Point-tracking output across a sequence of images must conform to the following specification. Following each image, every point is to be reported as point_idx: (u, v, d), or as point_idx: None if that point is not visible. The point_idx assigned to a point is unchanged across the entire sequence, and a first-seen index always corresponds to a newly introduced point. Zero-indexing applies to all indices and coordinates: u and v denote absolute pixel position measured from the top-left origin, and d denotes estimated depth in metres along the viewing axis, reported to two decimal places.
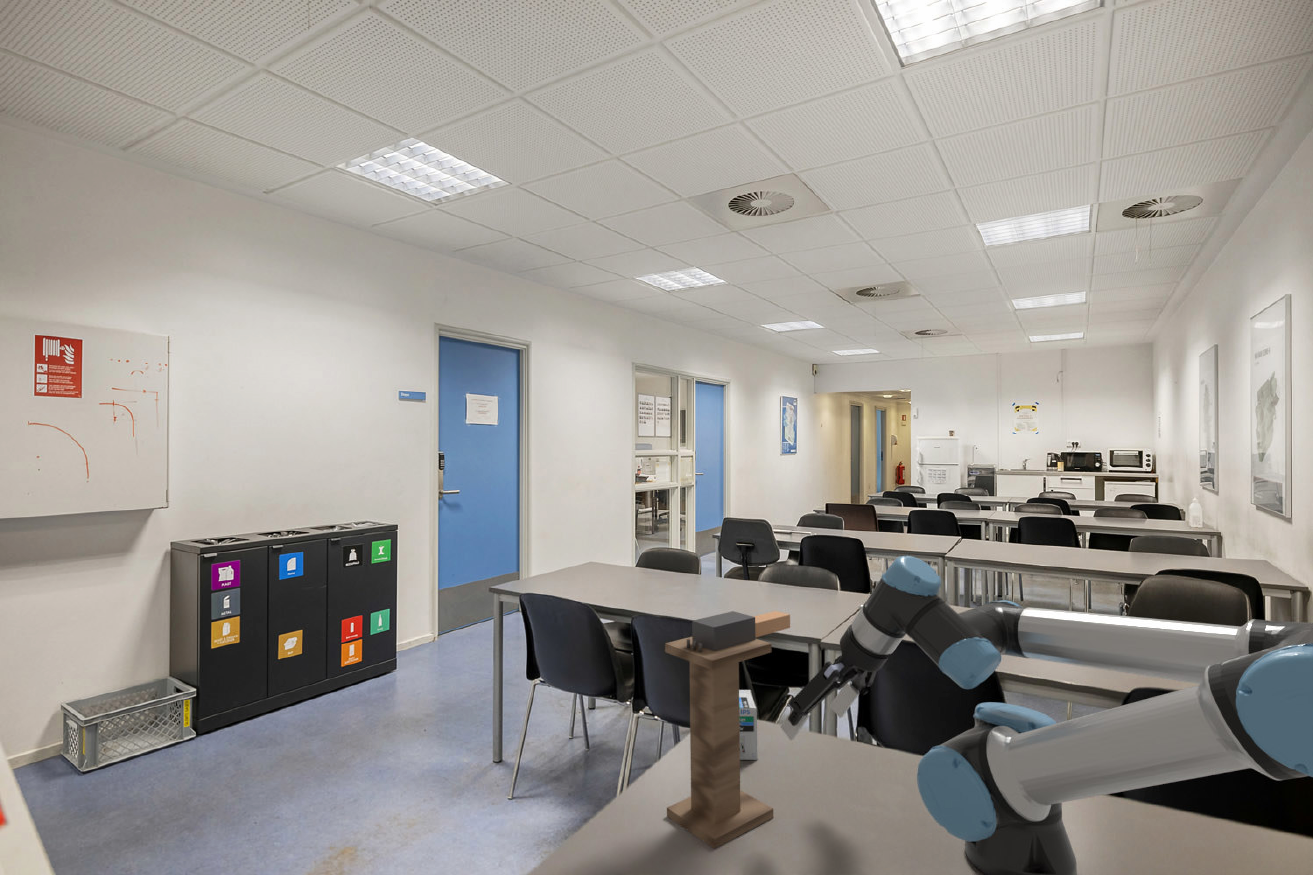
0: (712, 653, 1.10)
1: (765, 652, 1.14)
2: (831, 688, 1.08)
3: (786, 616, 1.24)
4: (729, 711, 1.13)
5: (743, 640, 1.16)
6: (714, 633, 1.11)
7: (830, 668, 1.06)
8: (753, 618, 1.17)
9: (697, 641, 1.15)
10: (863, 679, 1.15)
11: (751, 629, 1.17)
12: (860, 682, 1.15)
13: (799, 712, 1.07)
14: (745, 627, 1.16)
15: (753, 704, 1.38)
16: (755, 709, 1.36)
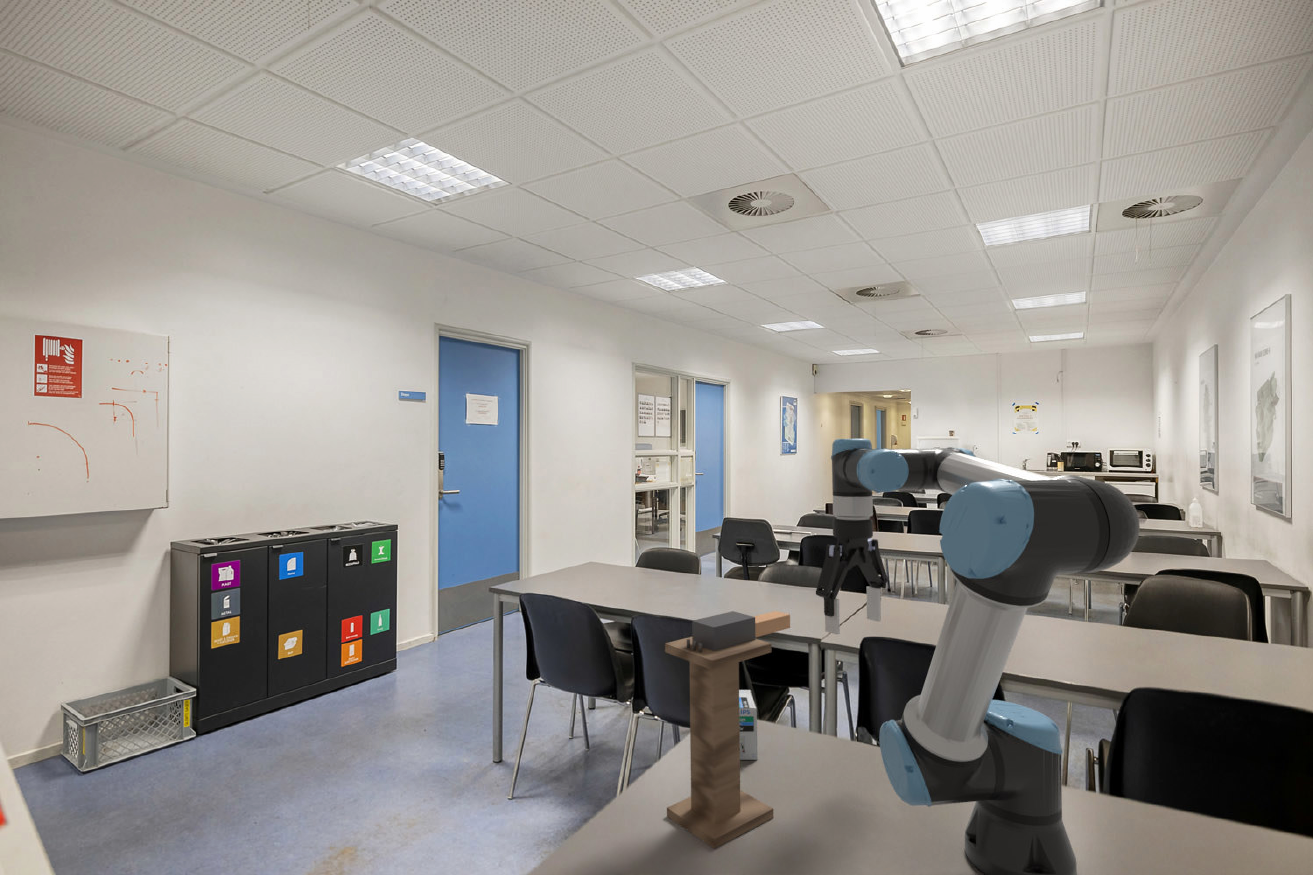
0: (712, 653, 1.10)
1: (765, 652, 1.14)
2: (843, 569, 1.26)
3: (786, 616, 1.24)
4: (729, 711, 1.13)
5: (743, 640, 1.16)
6: (714, 633, 1.11)
7: (831, 547, 1.26)
8: (753, 618, 1.17)
9: (697, 641, 1.15)
10: (873, 568, 1.32)
11: (751, 629, 1.17)
12: (872, 571, 1.32)
13: (825, 593, 1.23)
14: (745, 627, 1.16)
15: (753, 704, 1.38)
16: (755, 709, 1.36)
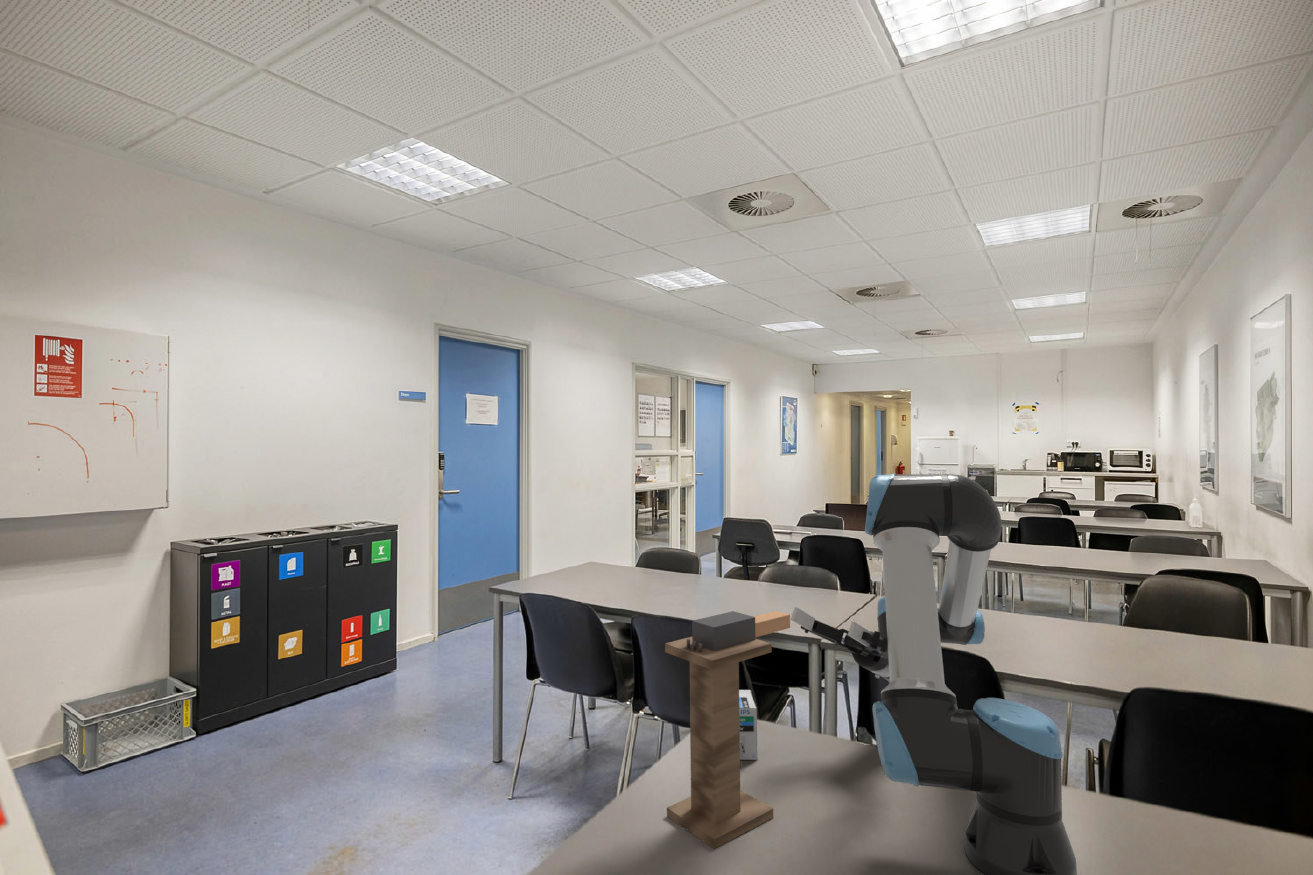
0: (712, 653, 1.10)
1: (765, 652, 1.14)
2: None
3: (786, 616, 1.24)
4: (729, 711, 1.13)
5: (743, 640, 1.16)
6: (714, 633, 1.11)
7: None
8: (753, 618, 1.17)
9: (697, 641, 1.15)
10: None
11: (751, 629, 1.17)
12: None
13: None
14: (745, 627, 1.16)
15: (753, 704, 1.38)
16: (755, 709, 1.36)
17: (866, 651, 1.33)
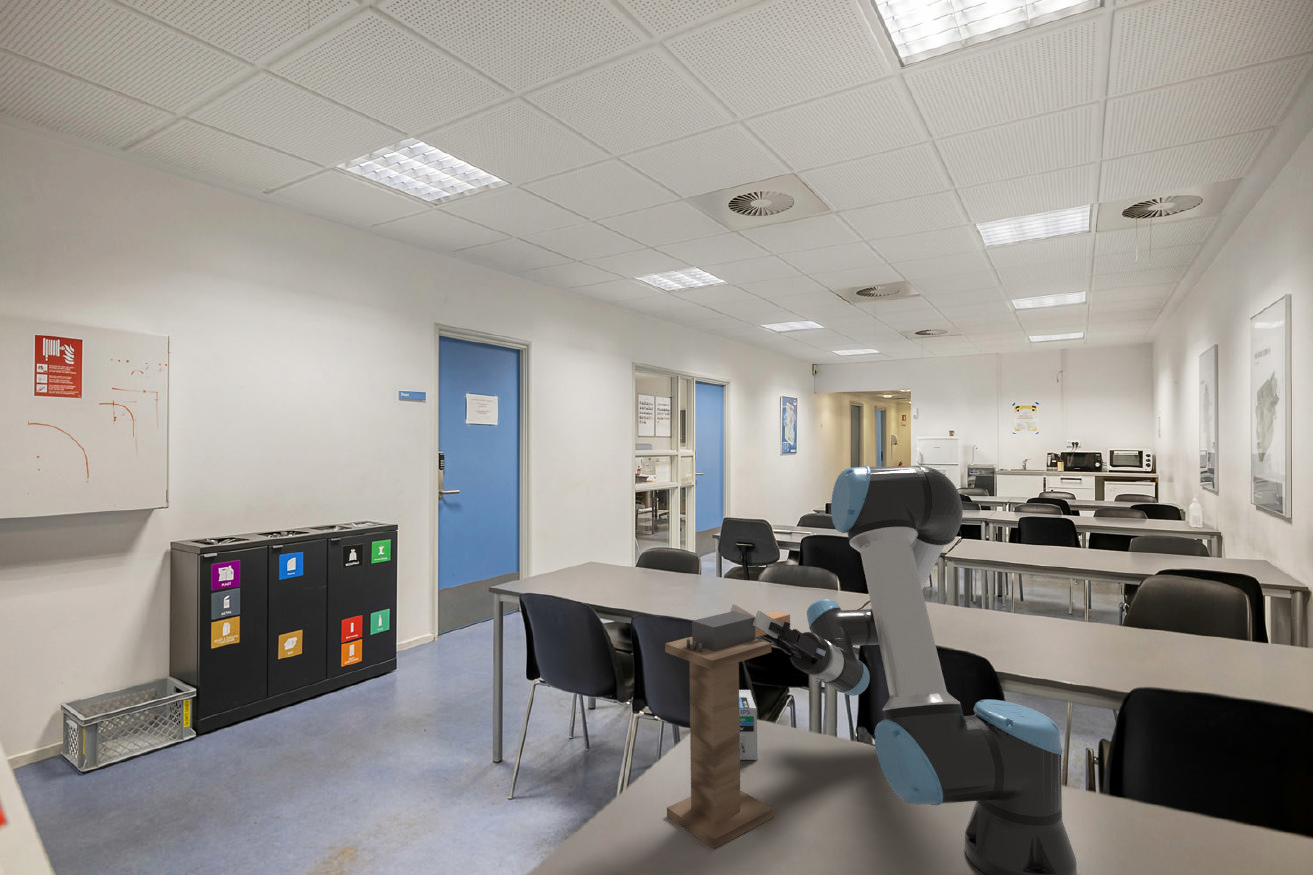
0: (712, 653, 1.10)
1: (765, 652, 1.14)
2: None
3: (786, 616, 1.24)
4: (729, 711, 1.13)
5: (743, 640, 1.16)
6: (714, 633, 1.11)
7: None
8: (753, 618, 1.17)
9: (697, 641, 1.15)
10: None
11: (751, 629, 1.17)
12: None
13: None
14: (745, 627, 1.16)
15: (753, 704, 1.38)
16: (755, 709, 1.36)
17: (793, 649, 1.25)
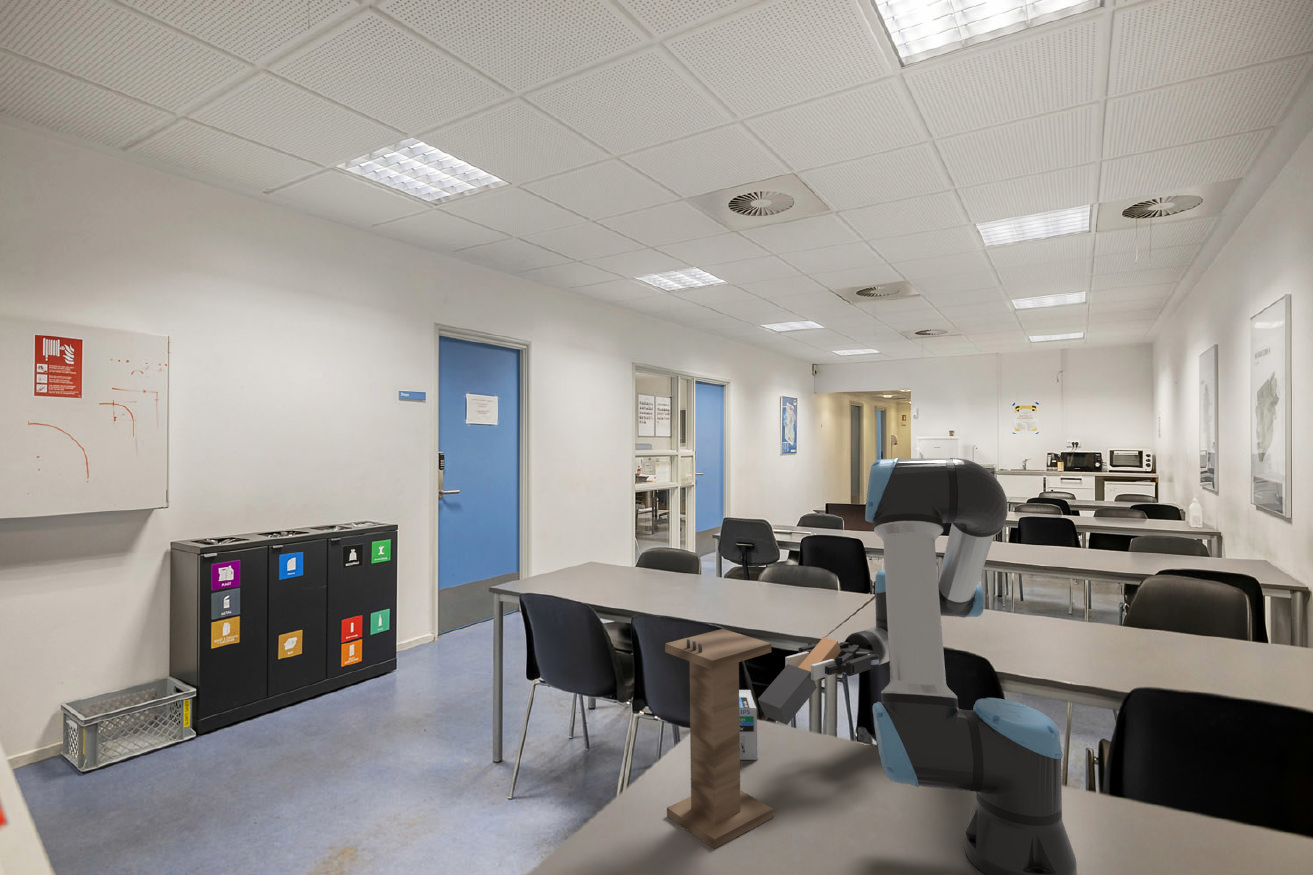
0: (712, 653, 1.10)
1: (765, 652, 1.14)
2: None
3: (835, 645, 1.33)
4: (729, 711, 1.13)
5: (807, 696, 1.26)
6: (782, 712, 1.21)
7: None
8: (809, 673, 1.26)
9: (768, 715, 1.25)
10: (848, 655, 1.34)
11: (810, 683, 1.27)
12: (844, 655, 1.34)
13: None
14: (805, 686, 1.25)
15: (753, 704, 1.38)
16: (755, 709, 1.36)
17: None
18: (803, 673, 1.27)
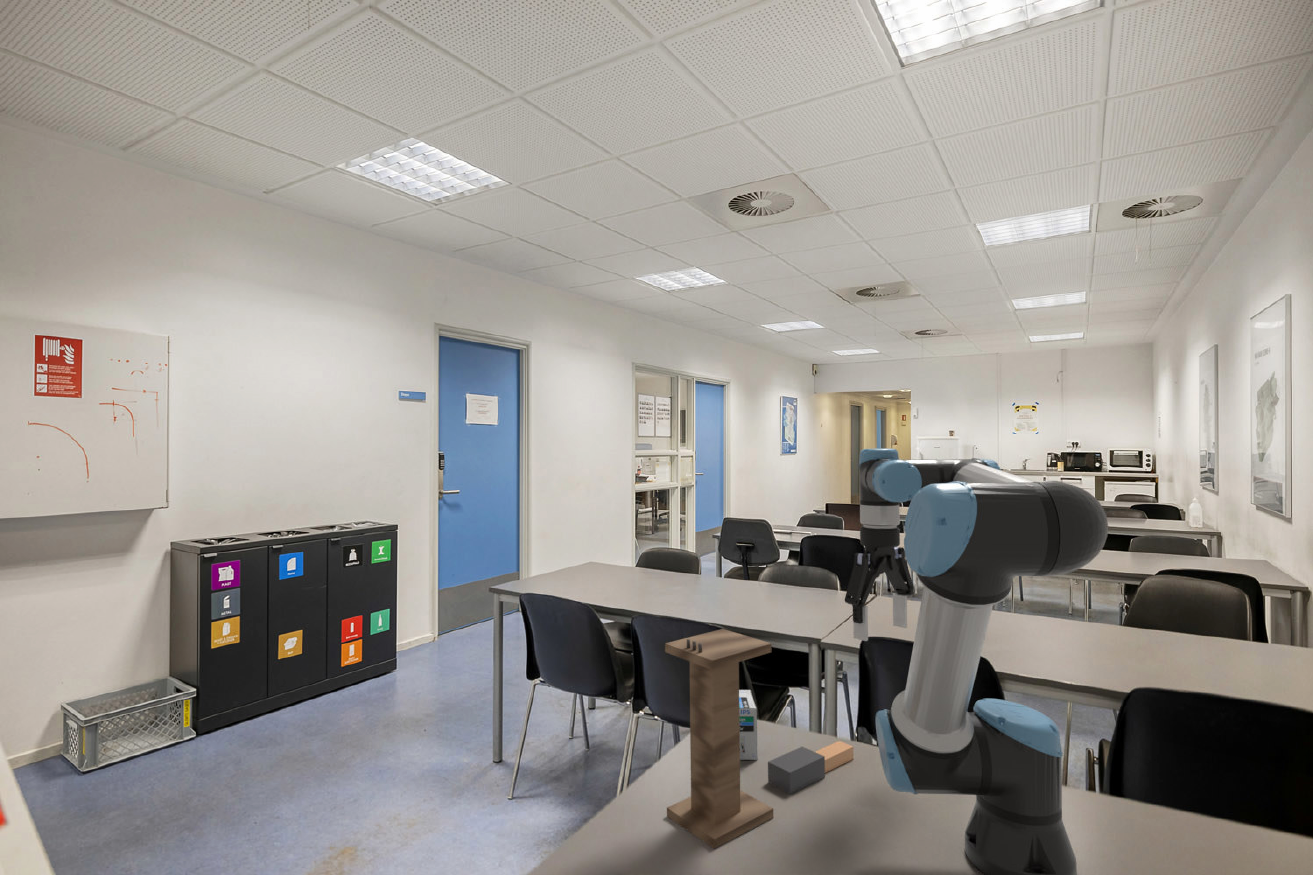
0: (712, 653, 1.10)
1: (765, 652, 1.14)
2: (871, 576, 1.29)
3: (850, 748, 1.35)
4: (729, 711, 1.13)
5: (815, 779, 1.27)
6: (790, 778, 1.23)
7: (859, 555, 1.28)
8: (823, 757, 1.29)
9: (773, 781, 1.26)
10: (899, 575, 1.35)
11: (821, 768, 1.28)
12: (898, 579, 1.34)
13: (854, 600, 1.25)
14: (816, 767, 1.27)
15: (753, 704, 1.38)
16: (755, 709, 1.36)
17: None
18: (817, 755, 1.29)
